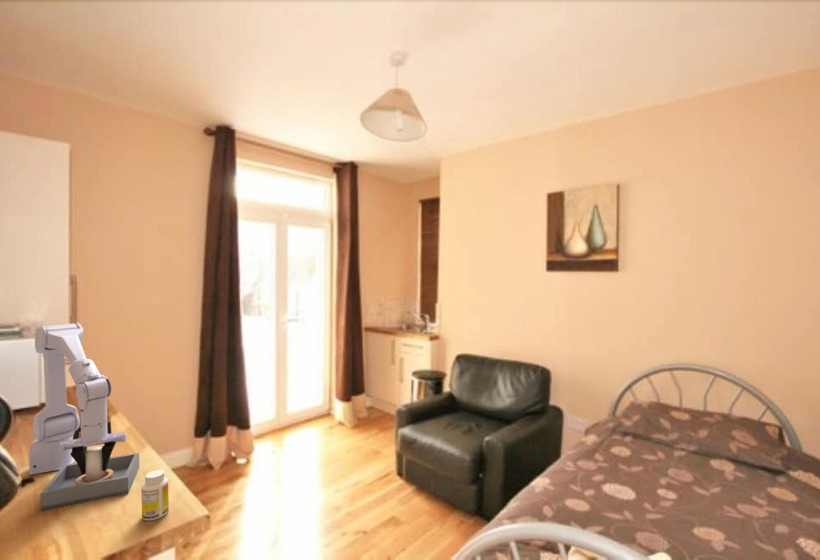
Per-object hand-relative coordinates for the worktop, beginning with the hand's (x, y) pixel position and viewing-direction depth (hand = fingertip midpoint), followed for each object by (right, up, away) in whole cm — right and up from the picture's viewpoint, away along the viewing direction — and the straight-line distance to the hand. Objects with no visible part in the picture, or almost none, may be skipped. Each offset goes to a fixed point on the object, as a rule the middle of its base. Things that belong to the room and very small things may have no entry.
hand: (94, 471), depth 108 cm
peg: (0, -2, 0) cm, 2 cm away
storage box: (0, -4, 0) cm, 4 cm away
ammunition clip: (-26, -4, +32) cm, 41 cm away
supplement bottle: (+25, -5, -12) cm, 28 cm away
